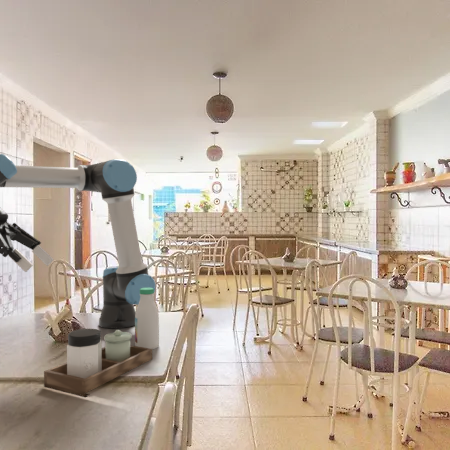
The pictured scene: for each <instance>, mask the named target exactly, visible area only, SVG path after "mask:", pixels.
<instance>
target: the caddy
mask: <svg viewBox="0 0 450 450" xmlns="http://www.w3.org/2000/svg"><path fill="white" fill-rule="evenodd" d="M151 360H153V349H149V348H143V347H138V346H135V345H133V344H130V358H128V359H126V360H124V361H122V362H118V361H113V360H107V359H106V353H105V346H104V347H102V371H100V372H98V373H96V374H94V375H92V376H89V377H87V378H80V377H76V376H71V375H67V361H66V362H64V363H60V364H59V365H56V366H54V367H51V368H48V369H46V370H44V371H43V381H44V382H43V388H48V389H51V390H56V391H59V392H64V393H67V394H71V395H74V396H78V397H79V396H80V397H82V398H86V397H88V396H90V391H92V390H94V389H96V388H98V387H100V386H102V385H105V384H106V383H108V382H111V381H112V380H114V379H116V378H118V377H120V376H122V375H124V374H126V373H128V372H130V371H131V370H134V369H136V368H137V367H139V366H141V365H143V364H145V363H147V362H149V361H151ZM88 392H89V393H88Z"/></svg>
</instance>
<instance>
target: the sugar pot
mask: <svg viewBox="0 0 450 450" xmlns="http://www.w3.org/2000/svg"><path fill="white" fill-rule="evenodd" d="M103 339H104V342H105V344H104V345H105V346H104V347H105V353H106V359H107V360H113V361H118V362H122V361H124V360H126V359H128V358H130V345H131V339H132V333H130V332H128V331H121V330H120V329H116V330H115V331H114V332H109V333H107V334H105V335H104V336H103Z"/></svg>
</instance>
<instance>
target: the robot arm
mask: <svg viewBox="0 0 450 450" xmlns="http://www.w3.org/2000/svg"><path fill="white" fill-rule="evenodd" d="M137 180H138V175H137V172H136V169H135V167H134V166H133V165H132V164H131V163H130V162H128V161H127V160H125V159H118V158H117V159H115V158H114V159H109V160H106V161H102V162H98V163H94V164H86V165H85V164H84V165H83V164H82V165H81V164H78V165H77V166H76V167H66V166H65V167H63V166H41V165H38V166H36V165H15V163H14V162H13V161H12V159H11V158H10V157H8V156H7V155H6V154H4V153H0V188H41V189H42V188H45V189H48V188H49V189H50V188H52V189H55V188H56V189H57V188H58V189H59V188H60V189H61V188H62V189H77V190H78V191H79V192H82V191H83V192H84V191H85V192H94V193H101V198H102V200H103V201H104V202H105V203H106V204H107V207H108V208H107V209H108V213H109V214H108V215H109V219H110V224H111V228H112V229H111V231H112V235H113V241H114V247H115V250H116V251H115V252H116V256H117V262H118V266H117V267H108V268H105V269H104V270H103V272H102V290H103V291H102V294H103V297H102V299H103V301H102V302H103V305H102V310H101V312H100V315H99V317H98V318H99V319H98V326H99V327H101V328H104V329H125V328H130V327H135V313H136V309H135V306H138V304H139V302H140V289H141V288H153V289H154V293H155V291H156V282H155V279H154V278H153V277H152V276H151V275H150V274H149V270H148V266H147V264H146V263H144V262H143V260H142V255H141V249H140V243H139V237H138V232H137V226H136V219H135V213H134V209H133V203H132V199H133V197H134V196H135V190H134V187H135V185H136V184H137ZM8 220H9V215H8V214H7V212H5V210H3V208H1V207H0V254H1V255H2V257H3V258H7V256H8V257H9V259H11V260H12V261H14V263H16V265H17V266H18V267H19V268H20V269H22V271H24V273H27V272H28V271H29V270H30V269H31V268H32V267H33V266H34V264H33V263H32V262H31V261H30V260H29V259H28V258H27V257H26V256H25V255H24V254H23V253H22V252H21V251H20V250H18V248H14V245H13V243H12V241H13V242H15V241H16V242H17V243H20V244H22V245H23V246H25V247H27V248H28V249H30V250H31V252H32V253H33V254H34V255H35V256H36V257H37V258H38V259H39V260H40V261H41V262H42V263H43V264H44V265H45V266H46V267H48V266H49V265H50V264H51V263H52V262H53V261H54V258H53V257H52V256H51V255H50V254H49V253H48V252H47V251H46V250H45V249H44V248H43V247H41V244H42V242H41V241H40V240H39V239H37V238H35V237H34V236H33V235H31V234H30V233H28V232H27V231H25V230H24V229H23V228H21V226H19V225H18V224H17V223H16V222H13V223H12V224H11V223H9V222H8ZM134 305H135V306H134Z"/></svg>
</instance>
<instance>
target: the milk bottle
mask: <svg viewBox="0 0 450 450" xmlns="http://www.w3.org/2000/svg"><path fill="white" fill-rule="evenodd" d="M154 295H155V292H154V289H153V288H141V289H140V302H139V304H138V305H137V307H136V309H135V312H136V313H135V325H134V346H138V347H143V348H149V349H152V350H154V349H157V348H159V346H160V317H159V309H158V307H157V304H156V303H155V299H154Z"/></svg>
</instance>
